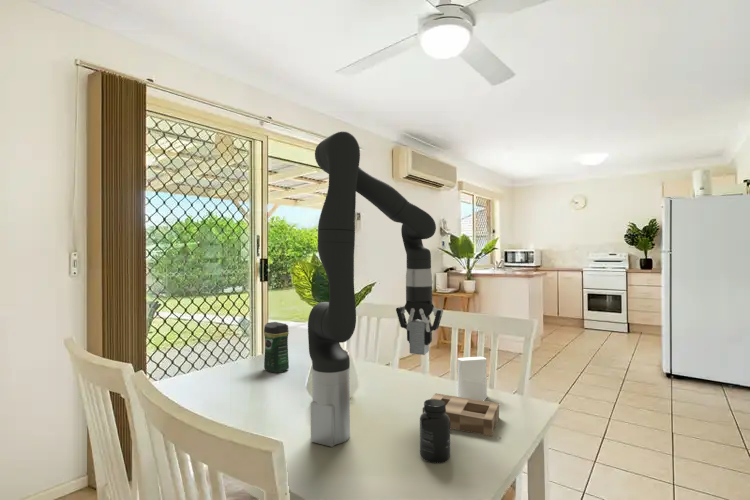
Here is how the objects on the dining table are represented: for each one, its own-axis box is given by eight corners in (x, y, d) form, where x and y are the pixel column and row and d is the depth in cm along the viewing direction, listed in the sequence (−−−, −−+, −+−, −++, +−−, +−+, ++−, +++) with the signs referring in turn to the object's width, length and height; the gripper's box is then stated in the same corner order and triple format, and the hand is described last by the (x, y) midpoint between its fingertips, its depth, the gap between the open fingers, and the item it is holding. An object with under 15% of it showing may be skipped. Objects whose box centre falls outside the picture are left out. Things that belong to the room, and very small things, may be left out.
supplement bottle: (456, 461, 85) (455, 406, 85) (427, 466, 83) (427, 410, 83) (442, 446, 92) (441, 395, 92) (415, 451, 90) (414, 398, 90)
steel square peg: (424, 354, 109) (424, 322, 109) (409, 353, 111) (409, 321, 111) (429, 351, 113) (428, 320, 113) (414, 349, 115) (414, 319, 115)
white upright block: (465, 403, 118) (464, 363, 118) (453, 392, 127) (452, 355, 127) (492, 400, 120) (491, 361, 120) (478, 390, 129) (478, 354, 129)
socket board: (491, 436, 96) (491, 420, 96) (422, 422, 104) (422, 408, 104) (498, 417, 107) (498, 403, 107) (435, 406, 115) (435, 393, 115)
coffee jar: (292, 370, 152) (292, 322, 152) (274, 374, 146) (274, 325, 146) (278, 365, 158) (278, 319, 158) (260, 369, 153) (260, 322, 153)
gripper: (391, 284, 112) (391, 344, 112) (439, 286, 106) (440, 349, 106) (400, 282, 118) (400, 338, 118) (446, 283, 112) (447, 343, 112)
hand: (419, 343), depth 112 cm, fingers closed on steel square peg, 4 cm apart
